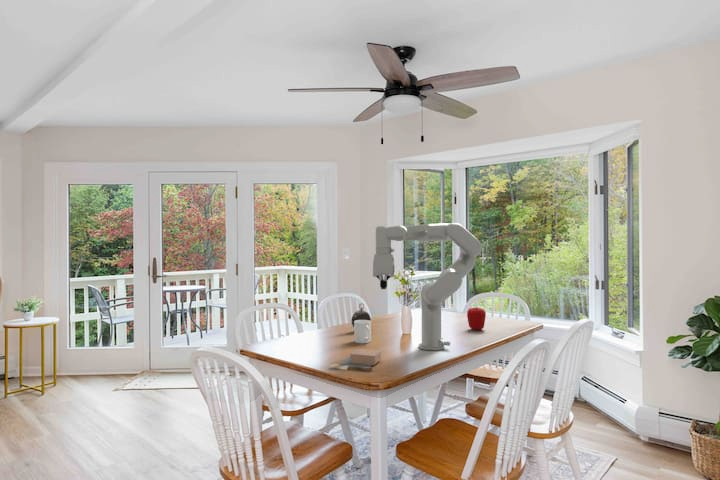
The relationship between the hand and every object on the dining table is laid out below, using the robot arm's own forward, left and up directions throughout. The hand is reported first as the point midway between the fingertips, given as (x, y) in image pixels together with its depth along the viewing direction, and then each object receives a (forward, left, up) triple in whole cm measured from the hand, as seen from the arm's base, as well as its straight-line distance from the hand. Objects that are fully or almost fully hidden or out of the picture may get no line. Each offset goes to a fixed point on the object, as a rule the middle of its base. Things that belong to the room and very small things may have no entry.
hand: (383, 288), depth 223 cm
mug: (+13, -8, -29) cm, 33 cm away
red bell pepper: (-39, -58, -29) cm, 76 cm away
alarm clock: (+23, -33, -29) cm, 50 cm away
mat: (+3, +27, -29) cm, 40 cm away
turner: (+4, +38, -29) cm, 48 cm away
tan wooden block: (-5, +27, -27) cm, 38 cm away
